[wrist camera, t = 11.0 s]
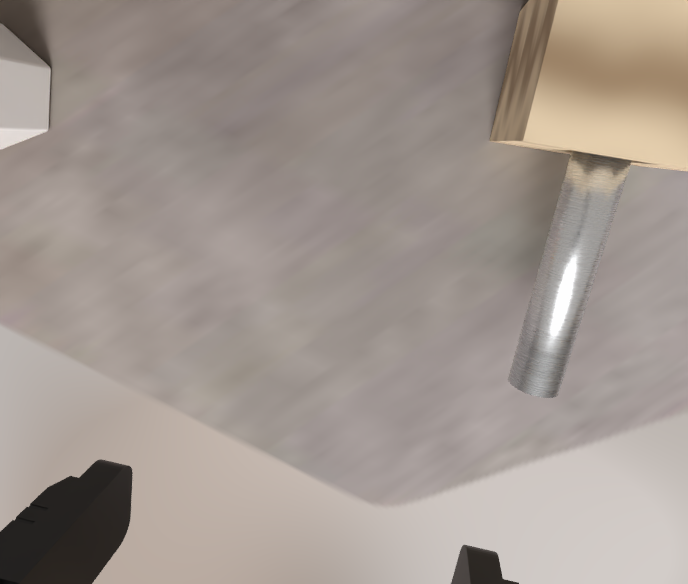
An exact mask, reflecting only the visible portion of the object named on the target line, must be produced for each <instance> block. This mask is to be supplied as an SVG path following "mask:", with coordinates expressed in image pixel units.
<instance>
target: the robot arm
mask: <svg viewBox="0 0 688 584" xmlns="http://www.w3.org/2000/svg"><path fill="white" fill-rule="evenodd" d="M131 493H132V469H131V467H130V466H126V465H122V464H118V463H114V462H109V461H105V460H98V461H96V462H95V463H94V464H93V465H92V466H91V467H90V468H89V469H88V470H87V471H86V472H85V473H84V474H83V475H82V476H81V477H80V478H77V477H72V476H69V477H67V478H66V479H64V480H62V481H60V482H58V483H56V484H54V485H52V486H50V487H48V488H47V489H46V490H45V491H44V492H42V493H41V494H40V495H39V496H38V497H37V498H36V499H35V500H34V501H33V502H32V503H31V504H30V506H29V507H26V508H25V509H24V510H23V511H22V512H21V513H20V514H19V515H18V516H17V517H16V519H15V521H14V520H13V521H11V522H10V523H9V524H8V525H7V526H6V527H5V528H4V529H3V530H2V531H1V532H0V584H92V583H93V582H94V580H95V579H96V577H97V576H98V575H99V573H100V572H101V571H102V569H103V568H104V567H105V565H106V564H107V562H108V561H109V560H110V559H111V557H112V556H113V554H114V553H115V552H116V550H117V549H118V548H119V546H120V545H121V543H122V541H123V539H124V537H125V535H126V533H127V530H128V526H129V522H130V514H131ZM451 584H519V583H517V582H513V581H508V580H504V579H503V578H502V573H501V568H500V562H499V558H498V555H497V553H496V552H493V551H489V550H484V549H480V548H476V547H472V546H467V545H463V546H462V548H461V551H460V554H459V558H458V562H457V565H456V569H455V572H454V576H453V579H452V583H451Z"/></svg>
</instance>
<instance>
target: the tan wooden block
mask: <svg viewBox="0 0 688 584" xmlns="http://www.w3.org/2000/svg"><path fill="white" fill-rule="evenodd" d="M490 141H492V142H498V143H504V144H510V145H516V146H522V147H528V148H534V149H540V150H546V151H552V152H558V153H564V154H570V155H571V152H572V150H573V151H579V152H585V153H591V154H597V155H603V156H609V157H615V158H621V159H627V160H632V161H631V165H637V166H644V167H653V168H662V169H671V170H680V171H688V0H529V1H528V2H527V3H526V5H525V6H524V7H523V8H522V10H521V11H520V13H519V17H518V21H517V26H516V30H515V34H514V38H513V43H512V47H511V51H510V56H509V60H508V64H507V68H506V73H505V77H504V81H503V86H502V90H501V94H500V98H499V103H498V107H497V111H496V116H495V120H494V124H493V128H492V133H491V137H490Z"/></svg>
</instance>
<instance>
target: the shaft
mask: <svg viewBox="0 0 688 584" xmlns="http://www.w3.org/2000/svg"><path fill="white" fill-rule="evenodd" d="M631 161H632V160H627V159H621V158H615V157H609V156H603V155H597V154H591V153H585V152H579V151H573V150H572V152H571V155H570V159H569V163H568V166H567V170H566V173H565V177H564V180H563V184H562V188H561V191H560V195H559V198H558V202H557V205H556V209H555V213H554V216H553V220H552V223H551V227H550V230H549V234H548V238H547V241H546V245H545V248H544V252H543V256H542V259H541V263H540V266H539V270H538V273H537V277H536V281H535V284H534V288H533V291H532V295H531V298H530V302H529V306H528V309H527V313H526V316H525V320H524V323H523V327H522V331H521V334H520V338H519V341H518V345H517V349H516V352H515V356H514V359H513V363H512V366H511V370H510V374H509V377H508V380H509V382H510V383H511V384H512V385H513V386H514V387H515V388H517V389H519V390H521V391H523V392H525V393H527V394H530V395H533V396H537V397H543V398H553V397H556V396H557V395H558V394H559V390H560V387H561V384H562V381H563V378H564V374H565V371H566V368H567V365H568V362H569V359H570V355H571V352H572V349H573V346H574V343H575V339H576V336H577V333H578V330H579V327H580V324H581V320H582V317H583V314H584V311H585V308H586V304H587V301H588V298H589V295H590V292H591V289H592V285H593V282H594V279H595V276H596V273H597V269H598V266H599V263H600V260H601V257H602V254H603V250H604V247H605V244H606V241H607V238H608V234H609V231H610V228H611V225H612V222H613V218H614V215H615V212H616V209H617V206H618V203H619V199H620V196H621V193H622V190H623V187H624V183H625V180H626V177H627V174H628V171H629V168H630V164H631Z"/></svg>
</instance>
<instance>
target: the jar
mask: <svg viewBox="0 0 688 584" xmlns="http://www.w3.org/2000/svg"><path fill="white" fill-rule="evenodd" d="M50 79H51V68H50V67H49V66H48V65H47V64H46V63H45V62H44V61H43V60H42V59H41V58H40V57H38V56H37V55H36V54H35V53H34V52H33V51H32V50H31V49H30V48H29V47H27V46H26V45H25V44H24V43H23V42H22V41H21V40H20V39H19V38H17V37H16V36H15V35H14V34H13V33H12V32H11V31H10V30H9V29H8V28H6V27H5V26H4V25H3V24H1V23H0V149H4V148H6V147H9V146H11V145H14V144H16V143H19V142H21V141H24V140H26V139H29V138H31V137H34V136H37V135H39V134H42V133H44V132H47V131H48V129H49V104H50Z"/></svg>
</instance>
